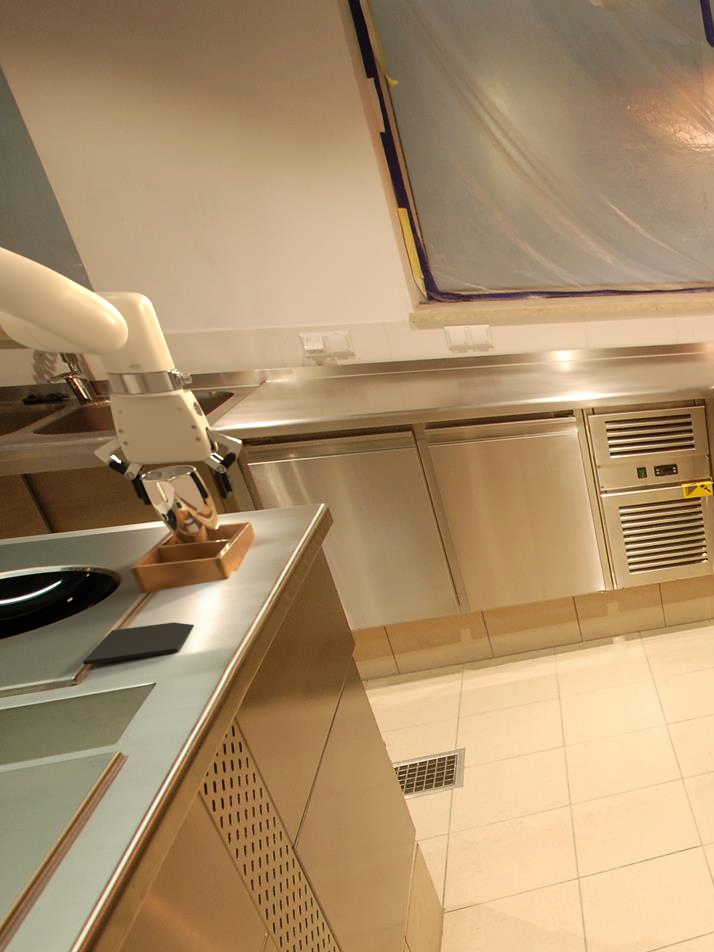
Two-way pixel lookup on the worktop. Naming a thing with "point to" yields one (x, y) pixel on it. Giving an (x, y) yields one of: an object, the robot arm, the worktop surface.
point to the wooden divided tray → (192, 559)
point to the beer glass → (183, 503)
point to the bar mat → (140, 642)
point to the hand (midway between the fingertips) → (190, 499)
